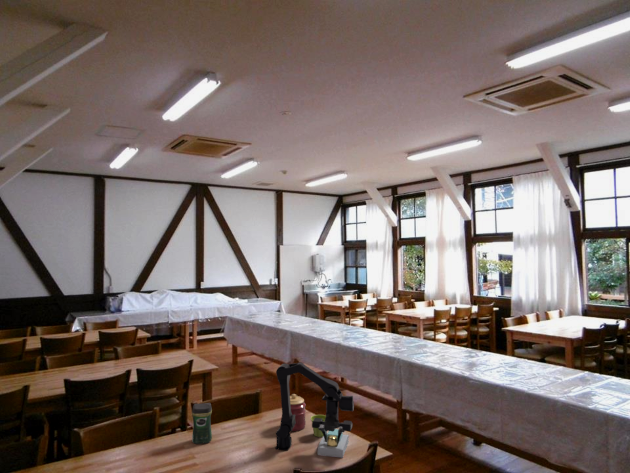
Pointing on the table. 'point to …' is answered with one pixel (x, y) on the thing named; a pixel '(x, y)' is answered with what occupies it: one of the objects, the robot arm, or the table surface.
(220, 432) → the table surface
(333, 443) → the brass cylinder
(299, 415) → the canister
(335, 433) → the teal block
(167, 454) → the table surface
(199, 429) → the coffee jar
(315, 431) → the plant pot
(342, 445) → the jig
